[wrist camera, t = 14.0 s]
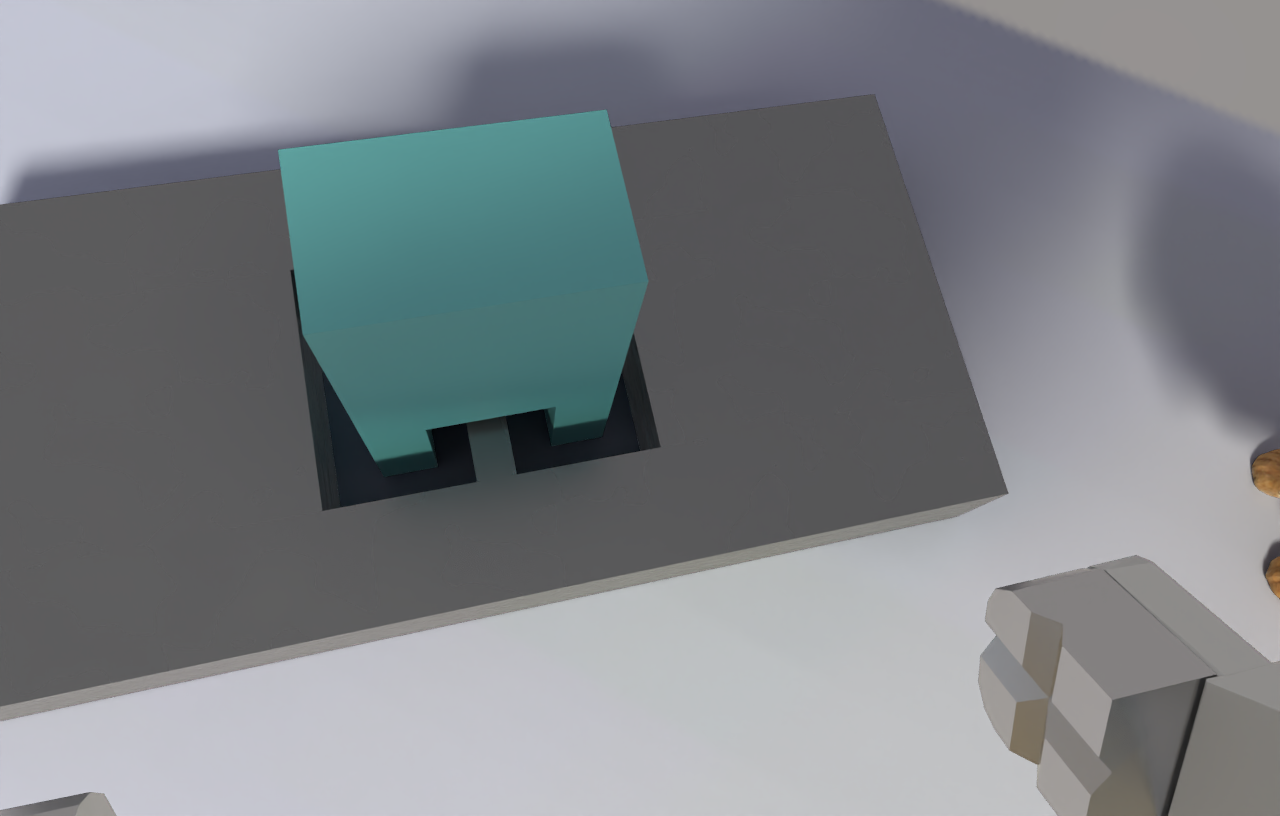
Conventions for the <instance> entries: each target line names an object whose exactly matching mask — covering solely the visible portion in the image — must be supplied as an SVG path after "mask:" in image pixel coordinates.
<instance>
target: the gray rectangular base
mask: <svg viewBox="0 0 1280 816" xmlns="http://www.w3.org/2000/svg"><path fill="white" fill-rule="evenodd" d="M611 130H612V134H613V138H614V142H615V146H616V150H617V154H618V158H619V162H620V167H621V171H622V175H623V179H624V183H625V187H626V191H627V195H628V199H629V203H630V207H631V212H632V216H633V220H634V224H635V228H636V232H637V236H638V240H639V244H640V248H641V253H642V257H643V261H644V265H645V269H646V273H647V277H648V285H647V288H646V291H645V295H644V298H643V302H642V305H641V308H640V312H639V315H638V318H637V322H636V325H635V328H634V332H633V335H632V338H631V342H630V345H629V349H628V352H627V355H626V359H625V362H624V365H623V369H622V374H623V379H624V383H625V387H626V392H627V396H628V400H629V405H630V409H631V413H632V418H633V422H634V426H635V431H636V435H637V439H638V444H639V448H640V451H638V452H633V453H628V454H622V455H617V456H612V457H606V458H601V459H596V460H591V461H585V462H580V463H575V464H569V465H564V466H559V467H553V468H548V469H543V470H538V471H532V472H527V473H522V474H517V473H516V468H515V463H514V457H513V452H512V447H511V442H510V437H509V431H508V426H507V421H506V416H501V417H496V418H490V419H484V420H479V421H473V422H467V423H466V424H467V429H468V435H469V440H470V446H471V451H472V457H473V463H474V468H475V474H476V479H477V482H474V483H469V484H463V485H458V486H453V487H447V488H442V489H437V490H431V491H426V492H421V493H416V494H410V495H405V496H400V497H394V498H389V499H384V500H378V501H373V502H368V503H363V504H357V505H352V506H347V507H341V504H340V497H339V490H338V483H337V476H336V468H335V461H334V454H333V447H332V440H331V432H330V425H329V418H328V411H327V404H326V397H325V389H324V382H323V375H322V368H321V366H320V364H319V363H318V361H317V359H316V357H315V356H314V354H313V352H312V350H311V349H310V347H309V345H308V343H307V342H306V340H305V338H304V336H303V333H302V325H301V318H300V310H299V303H298V295H297V288H296V280H295V273H294V265H293V258H292V250H291V243H290V235H289V228H288V221H287V213H286V206H285V198H284V191H283V183H282V176H281V169H279V170H271V171H263V172H255V173H248V174H240V175H232V176H224V177H216V178H208V179H200V180H192V181H184V182H176V183H168V184H161V185H153V186H145V187H137V188H129V189H121V190H113V191H105V192H97V193H89V194H81V195H74V196H66V197H58V198H50V199H42V200H34V201H26V202H18V203H10V204H2V205H0V721H3V720H8V719H13V718H17V717H22V716H27V715H32V714H36V713H41V712H46V711H50V710H55V709H60V708H64V707H69V706H74V705H78V704H83V703H88V702H92V701H97V700H102V699H106V698H111V697H116V696H120V695H125V694H130V693H134V692H139V691H144V690H148V689H153V688H158V687H162V686H167V685H172V684H176V683H181V682H186V681H190V680H195V679H200V678H204V677H209V676H214V675H219V674H223V673H228V672H233V671H237V670H242V669H247V668H251V667H256V666H261V665H265V664H270V663H275V662H279V661H284V660H289V659H293V658H298V657H303V656H307V655H312V654H317V653H321V652H326V651H331V650H335V649H340V648H345V647H349V646H354V645H359V644H363V643H368V642H373V641H377V640H382V639H387V638H391V637H396V636H401V635H406V634H410V633H415V632H420V631H424V630H429V629H434V628H438V627H443V626H448V625H452V624H457V623H462V622H466V621H471V620H476V619H480V618H485V617H490V616H494V615H499V614H504V613H508V612H513V611H518V610H522V609H527V608H532V607H536V606H541V605H546V604H550V603H555V602H560V601H564V600H569V599H574V598H578V597H583V596H588V595H593V594H597V593H602V592H607V591H611V590H616V589H621V588H625V587H630V586H635V585H639V584H644V583H649V582H653V581H658V580H663V579H667V578H672V577H677V576H681V575H686V574H691V573H695V572H700V571H705V570H709V569H714V568H719V567H723V566H728V565H733V564H737V563H742V562H747V561H751V560H756V559H761V558H765V557H770V556H775V555H780V554H784V553H789V552H794V551H798V550H803V549H808V548H812V547H817V546H822V545H826V544H831V543H836V542H840V541H845V540H850V539H854V538H859V537H864V536H868V535H873V534H878V533H882V532H887V531H892V530H896V529H901V528H906V527H910V526H915V525H920V524H924V523H929V522H934V521H938V520H943V519H948V518H952V517H957V516H960V515H962V514H964V513H966V512H969V511H971V510H973V509H975V508H977V507H980V506H982V505H984V504H986V503H988V502H991V501H993V500H995V499H997V498H1000V497H1002V496H1004V495H1006V494H1008V491H1007V488H1006V485H1005V482H1004V479H1003V476H1002V473H1001V470H1000V467H999V464H998V461H997V458H996V455H995V452H994V449H993V446H992V443H991V440H990V437H989V434H988V431H987V428H986V425H985V422H984V419H983V416H982V413H981V410H980V407H979V404H978V401H977V398H976V395H975V393H974V390H973V387H972V384H971V381H970V378H969V375H968V372H967V369H966V366H965V363H964V360H963V357H962V354H961V351H960V348H959V345H958V342H957V339H956V336H955V333H954V330H953V327H952V324H951V321H950V318H949V315H948V312H947V309H946V306H945V303H944V300H943V297H942V294H941V291H940V288H939V285H938V282H937V279H936V276H935V273H934V270H933V267H932V264H931V261H930V258H929V255H928V252H927V249H926V246H925V243H924V240H923V237H922V234H921V231H920V228H919V225H918V222H917V220H916V217H915V214H914V211H913V208H912V205H911V202H910V199H909V196H908V193H907V190H906V187H905V184H904V181H903V178H902V175H901V172H900V169H899V166H898V163H897V160H896V157H895V154H894V151H893V148H892V145H891V142H890V139H889V136H888V133H887V130H886V127H885V124H884V121H883V118H882V115H881V112H880V109H879V106H878V103H877V100H876V97H875V94H872V95H864V96H856V97H849V98H841V99H833V100H825V101H817V102H809V103H801V104H793V105H785V106H777V107H769V108H762V109H754V110H746V111H738V112H730V113H722V114H714V115H706V116H698V117H690V118H682V119H675V120H667V121H659V122H651V123H643V124H635V125H627V126H619V127H611Z"/></svg>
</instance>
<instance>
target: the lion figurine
mask: <svg viewBox="0 0 1280 816" xmlns="http://www.w3.org/2000/svg"><path fill="white" fill-rule="evenodd" d="M1252 474H1253V480H1254V484H1255V486H1256V487H1257V488H1258V489H1259V490H1260V491H1262V492H1263V493H1265V494H1267V495H1270V496H1273V497H1277V498H1280V449H1277V450H1273V451H1270V452H1267V453H1265V454H1262V455H1260V456H1258V457H1257V459H1256V460H1255V461H1254V463H1253V465H1252ZM1265 576H1266V579H1267V581H1268V583H1269V585H1270V588H1271V590H1272V591H1273V593H1274V594H1275V595H1276V596H1277V597H1278V598H1279V599H1280V556H1279V557H1277V558H1275V559H1273V560H1272V561H1271V562H1270V565H1269V568H1268V570H1267V572H1266V575H1265Z"/></svg>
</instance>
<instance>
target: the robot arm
mask: <svg viewBox="0 0 1280 816" xmlns="http://www.w3.org/2000/svg"><path fill="white" fill-rule="evenodd" d="M985 622H986V623H987V624H988V626H989V627H990V628H991V629H992V630H993V632H994V633H995V634H996V636H995V638H994V639H993V640H992V642H991V643H990V644H989V645H988V647H987V648H986V649H985V650H984V652H983V653H982V654H981V656H980V666H979V678H978V683H979V687H980V692H981V696H982V700H983V705H984V709H985V711H986V713H987V715H988V717H989V719H990V721H991V723H992V725H993V728H994V730H995V731H996V732H997V734H998V735H999V737H1000V738H1001V739H1002V741H1003V742H1004V744H1005V745H1006V747H1007V748H1008V749H1009V751H1011V752H1013V753H1015V754H1017V755H1019V756H1021V757H1023V758H1025V759H1027V760H1029V761H1031V762H1033V763H1035V764H1037V789H1038V790H1039V791H1040V793H1041V794H1042V795H1043V797H1044V798H1045V799H1046V801H1047V802H1048V803H1049V805H1050V806H1051V807H1052V809H1053V810H1054V811H1055V813H1056V814H1057V815H1058V816H1280V661H1278V662H1274V663H1271V662H1270V661H1269V660H1268V659H1266V658H1265V657H1264V656H1263V655H1262V654H1261V653H1259V652H1258V651H1257V650H1256V649H1255V648H1254V647H1252V646H1251V645H1250V644H1249V643H1248V642H1246V641H1245V640H1244V639H1243V638H1242V637H1241V636H1239V635H1238V634H1237V633H1236V632H1235V631H1234V630H1232V629H1231V628H1230V627H1229V626H1228V625H1226V624H1225V623H1224V622H1223V621H1222V620H1221V619H1219V618H1218V617H1217V616H1216V615H1215V614H1214V613H1212V612H1211V611H1210V610H1209V609H1208V608H1206V607H1205V606H1204V605H1203V604H1202V603H1201V602H1199V601H1198V600H1197V599H1196V598H1195V597H1194V596H1192V595H1191V594H1190V593H1189V592H1188V591H1186V590H1185V589H1184V588H1183V587H1182V586H1181V585H1179V584H1178V583H1177V582H1176V581H1175V580H1174V579H1172V578H1171V577H1170V576H1169V575H1168V574H1166V573H1165V572H1164V571H1163V570H1162V569H1161V568H1159V567H1158V566H1157V565H1156V564H1155V563H1154V562H1152V561H1150V560H1148V559H1145V558H1142V557H1140V556H1137V555H1135V556H1131V557H1126V558H1122V559H1118V560H1114V561H1110V562H1105V563H1101V564H1097V565H1093V566H1090V567H1088V568H1081V569H1077V570H1073V571H1068V572H1064V573H1060V574H1055V575H1051V576H1047V577H1043V578H1038V579H1034V580H1030V581H1026V582H1021V583H1017V584H1013V585H1009V586H1004V587H1000V588H996V589H995V590H994V592H993V593H992V595H991V596H990V598H989V599H988V602H987V609H986V616H985ZM0 816H116V814H115V812H114V810H113V809H112V807H111V805H110V803H109V801H108V800H107V798H106V796H105V794H103V793H94V792H89V793H84V794H79V795H74V796H69V797H64V798H59V799H54V800H49V801H44V802H39V803H34V804H29V805H24V806H19V807H14V808H9V809H4V810H0Z"/></svg>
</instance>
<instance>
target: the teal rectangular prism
mask: <svg viewBox="0 0 1280 816" xmlns="http://www.w3.org/2000/svg"><path fill="white" fill-rule="evenodd" d="M278 153H279V161H280V168H281V176H282V183H283V191H284V198H285V206H286V213H287V221H288V228H289V235H290V243H291V250H292V258H293V265H294V273H295V280H296V288H297V295H298V303H299V310H300V318H301V325H302V333H303V336H304V338H305V340H306V342H307V343H308V345H309V347H310V349H311V350H312V352H313V354H314V356H315V357H316V359H317V361H318V363H319V364H320V366H321V368H322V370H323V371H324V373H325V375H326V377H327V378H328V380H329V382H330V384H331V385H332V387H333V389H334V391H335V392H336V394H337V396H338V398H339V399H340V401H341V403H342V405H343V406H344V408H345V410H346V412H347V413H348V415H349V417H350V419H351V420H352V422H353V424H354V426H355V427H356V429H357V431H358V433H359V434H360V436H361V438H362V439H363V441H364V443H365V445H366V446H367V448H368V450H369V452H370V453H371V455H372V457H373V459H374V460H375V462H376V464H377V466H378V467H379V469H380V471H381V473H382V474H383V476H384V477H386V476H392V475H397V474H403V473H408V472H414V471H419V470H424V469H430V468H435V467H438V465H437V459H436V453H435V447H434V441H433V435H432V429H433V428H439V427H445V426H450V425H456V424H462V423H467V422H473V421H479V420H484V419H490V418H496V417H501V416H507V415H513V414H518V413H524V412H530V411H535V410H541V409H544V412H545V417H546V422H547V427H548V432H549V437H550V442H551V446H555V445H560V444H566V443H571V442H577V441H582V440H588V439H593V438H599V437H602V436H603V432H604V429H605V426H606V422H607V419H608V416H609V412H610V409H611V406H612V402H613V399H614V395H615V392H616V389H617V385H618V382H619V379H620V375H621V372H622V369H623V365H624V362H625V359H626V355H627V352H628V349H629V345H630V342H631V338H632V335H633V332H634V328H635V325H636V322H637V318H638V315H639V312H640V308H641V305H642V302H643V298H644V295H645V291H646V288H647V285H648V277H647V273H646V269H645V265H644V261H643V257H642V253H641V248H640V244H639V240H638V236H637V232H636V228H635V224H634V220H633V216H632V212H631V207H630V203H629V199H628V195H627V191H626V187H625V183H624V179H623V175H622V171H621V167H620V162H619V158H618V154H617V150H616V146H615V142H614V138H613V134H612V130H611V126H610V121H609V117H608V113H607V110H599V111H591V112H582V113H574V114H566V115H558V116H550V117H542V118H533V119H525V120H517V121H509V122H501V123H493V124H484V125H476V126H468V127H460V128H452V129H443V130H435V131H427V132H419V133H411V134H403V135H394V136H386V137H378V138H370V139H362V140H353V141H345V142H337V143H329V144H321V145H313V146H304V147H296V148H288V149H280V150H278Z"/></svg>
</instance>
